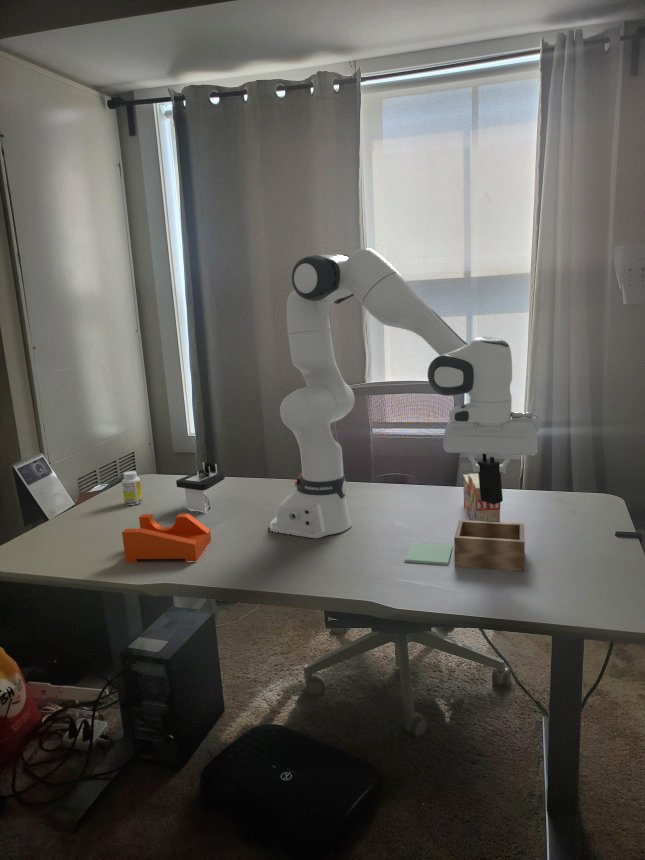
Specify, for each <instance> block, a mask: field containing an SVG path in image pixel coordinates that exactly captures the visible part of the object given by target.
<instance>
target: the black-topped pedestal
mask: <svg viewBox="0 0 645 860" xmlns="http://www.w3.org/2000/svg"><path fill="white" fill-rule="evenodd" d="M202 466H203V469H201V470H199V471H198V470H197V472H194V473H192V474H189V475H187V476H183V477H182V478H179V479H176V480H175V483H176V487H177V488H180V489H184V493H185V504H186V510H187V509H193V510H198V511H203V512H206V508H208V507H210V506H211V505H210V499H209V498H208V497H207V493H206V491H207V490H208V489H210V488H212V487H214V486H216V485H217V484H219V483H221V482H222V481H223V480H225V479H226V477H225V471H224V472H222V471H218V468H217V467H218V466H217V463H213V464H211V463H209V462H207V463H206V462H202ZM206 501H207V502H206ZM210 508H211V507H210ZM206 513H207V512H206Z"/></svg>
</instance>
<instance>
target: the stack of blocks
mask: <svg viewBox="0 0 645 860" xmlns="http://www.w3.org/2000/svg"><path fill="white" fill-rule="evenodd" d="M462 485H463V487H462V488H463V506H464V508H465V511H466V513H467V516H468V517H469V519H470V521H484V522H501V518H500V517H501V502H499V503H497V504H490V503H487V502H484V501H481V497H480V485H479V474H478V473H468V474H462Z"/></svg>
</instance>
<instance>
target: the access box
mask: <svg viewBox="0 0 645 860" xmlns="http://www.w3.org/2000/svg"><path fill="white" fill-rule="evenodd" d="M456 525H457V526H456V530H455V532H454V533H455V534H454V538H453V539H454V541H453V542H454V544H453V545H454V547H453V548H454V550H453V551H454V567H455V568H456V567H458V568H470V569H481V570H482V569H484V570H494V571H509V572H522V573H525V553H526V552H525V548H526V547H525V545H526V542H525V541H526V540H525V537H526V536H525V523H521V522H520V523H518V522H501V521H500V522H484V521H471V520H463V519H458V522H457V524H456Z"/></svg>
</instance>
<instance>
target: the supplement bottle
mask: <svg viewBox="0 0 645 860" xmlns="http://www.w3.org/2000/svg"><path fill="white" fill-rule="evenodd" d="M121 487H122V490H123V491H122V493H123V501H124V504H125V505H126V504H127V505H126V506H128V505H133V504H138V503H140V502H142V503H143V492H142V485H141V478H140V477H139V476H138V473H137V471H135V470H130V471H125V472H123V479H122V480H121ZM140 504H141V503H140ZM138 505H139V504H138ZM133 506H134V505H133Z"/></svg>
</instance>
